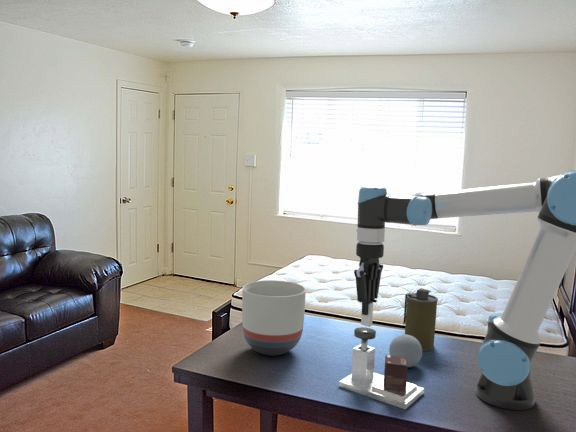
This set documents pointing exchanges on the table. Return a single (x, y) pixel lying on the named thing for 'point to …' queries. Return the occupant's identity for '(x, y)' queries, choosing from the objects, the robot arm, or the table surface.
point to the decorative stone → (406, 349)
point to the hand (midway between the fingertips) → (366, 325)
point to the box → (395, 373)
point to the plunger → (364, 336)
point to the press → (376, 381)
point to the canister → (421, 317)
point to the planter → (273, 315)
